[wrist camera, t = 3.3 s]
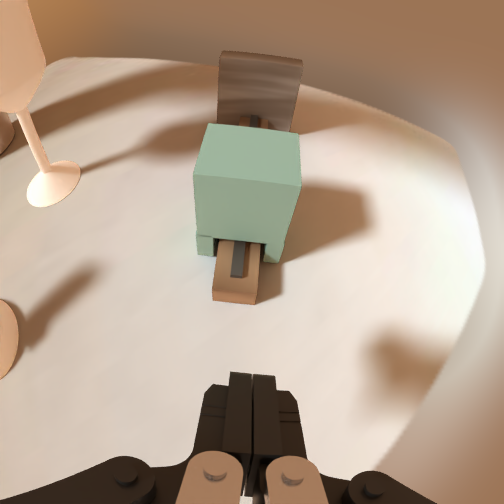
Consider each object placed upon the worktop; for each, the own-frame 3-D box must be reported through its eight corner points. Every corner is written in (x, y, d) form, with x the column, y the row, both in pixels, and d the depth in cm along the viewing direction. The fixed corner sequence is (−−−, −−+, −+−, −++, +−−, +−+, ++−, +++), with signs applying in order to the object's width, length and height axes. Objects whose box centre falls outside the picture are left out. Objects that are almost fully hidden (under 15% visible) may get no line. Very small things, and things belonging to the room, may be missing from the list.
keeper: (278, 263, 24) (303, 186, 17) (197, 254, 24) (191, 174, 17) (279, 212, 27) (300, 133, 19) (207, 204, 26) (206, 123, 19)
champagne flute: (84, 191, 26) (21, -54, 6) (26, 217, 24) (-66, -5, 4) (77, 152, 29) (33, -51, 9) (27, 175, 27) (-38, -15, 7)
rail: (288, 308, 22) (324, 238, 15) (178, 296, 22) (159, 220, 14) (287, 127, 34) (302, 60, 26) (219, 119, 34) (222, 50, 26)
